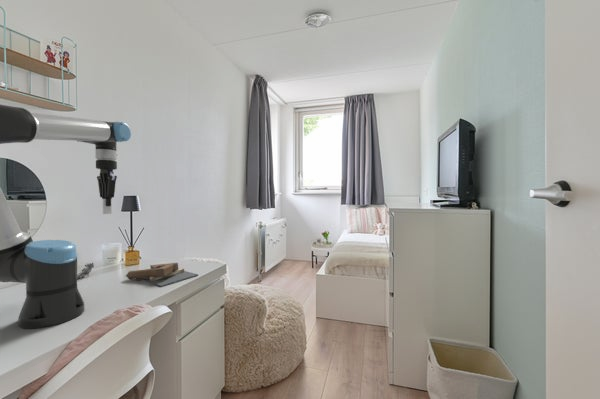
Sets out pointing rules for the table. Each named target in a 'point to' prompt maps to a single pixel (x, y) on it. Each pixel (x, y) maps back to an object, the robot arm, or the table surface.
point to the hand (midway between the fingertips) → (107, 213)
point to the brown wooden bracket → (154, 271)
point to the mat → (169, 279)
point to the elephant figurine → (86, 270)
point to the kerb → (167, 275)
